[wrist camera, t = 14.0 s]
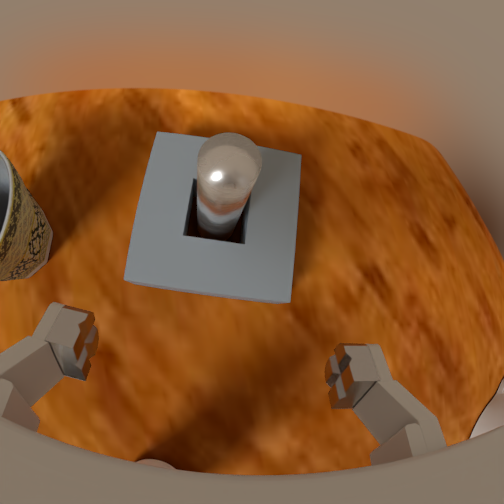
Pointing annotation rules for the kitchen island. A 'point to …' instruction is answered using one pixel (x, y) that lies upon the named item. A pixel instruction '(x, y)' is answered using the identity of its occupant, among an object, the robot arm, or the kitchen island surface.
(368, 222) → the kitchen island surface
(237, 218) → the steel pin
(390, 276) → the kitchen island surface
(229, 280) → the socket block
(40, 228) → the ceramic cup
